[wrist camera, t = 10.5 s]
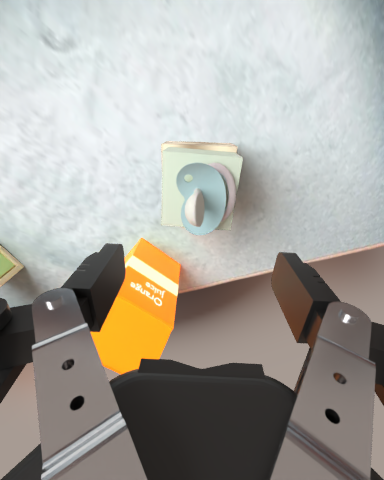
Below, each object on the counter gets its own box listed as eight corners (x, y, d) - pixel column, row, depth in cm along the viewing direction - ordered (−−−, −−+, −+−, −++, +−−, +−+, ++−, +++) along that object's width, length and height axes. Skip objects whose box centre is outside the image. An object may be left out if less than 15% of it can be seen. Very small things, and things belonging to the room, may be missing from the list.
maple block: (230, 143, 31) (237, 146, 26) (224, 204, 36) (229, 217, 30) (167, 141, 31) (161, 144, 26) (168, 202, 36) (163, 215, 30)
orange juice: (141, 236, 38) (94, 332, 21) (181, 264, 41) (169, 371, 23) (118, 265, 41) (58, 371, 23) (156, 289, 44) (129, 402, 26)
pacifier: (234, 155, 22) (174, 161, 22) (250, 165, 16) (169, 173, 17) (235, 222, 25) (183, 228, 26) (248, 249, 20) (182, 256, 20)
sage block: (235, 152, 26) (243, 157, 22) (225, 215, 30) (230, 230, 26) (168, 146, 26) (162, 150, 22) (166, 210, 30) (161, 225, 25)
